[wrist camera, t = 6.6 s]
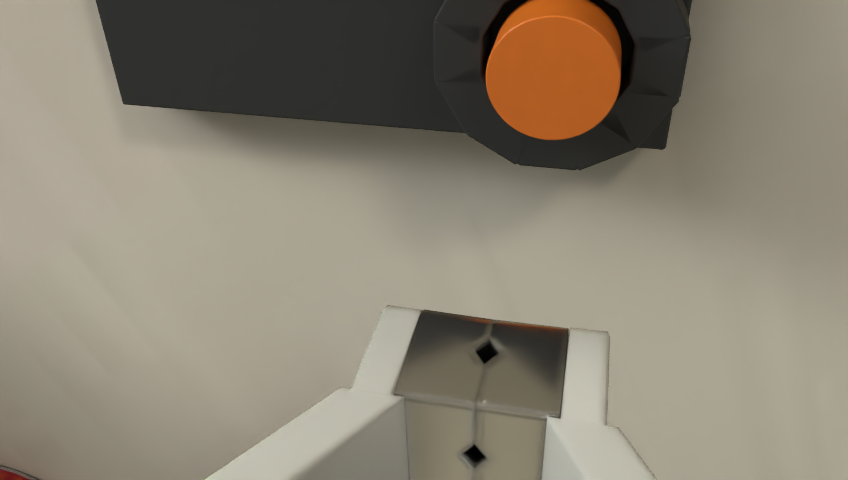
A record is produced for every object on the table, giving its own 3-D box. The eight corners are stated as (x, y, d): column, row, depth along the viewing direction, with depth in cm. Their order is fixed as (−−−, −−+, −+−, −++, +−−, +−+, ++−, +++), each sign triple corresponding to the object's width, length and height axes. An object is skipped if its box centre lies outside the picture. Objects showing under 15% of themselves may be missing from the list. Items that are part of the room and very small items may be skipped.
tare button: (629, -5, 18) (628, 19, 16) (613, 116, 19) (611, 146, 18) (497, -11, 18) (486, 12, 17) (493, 106, 20) (483, 135, 19)
